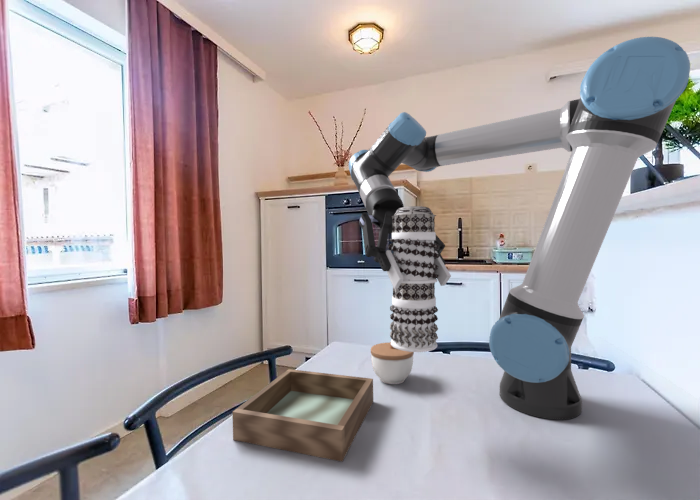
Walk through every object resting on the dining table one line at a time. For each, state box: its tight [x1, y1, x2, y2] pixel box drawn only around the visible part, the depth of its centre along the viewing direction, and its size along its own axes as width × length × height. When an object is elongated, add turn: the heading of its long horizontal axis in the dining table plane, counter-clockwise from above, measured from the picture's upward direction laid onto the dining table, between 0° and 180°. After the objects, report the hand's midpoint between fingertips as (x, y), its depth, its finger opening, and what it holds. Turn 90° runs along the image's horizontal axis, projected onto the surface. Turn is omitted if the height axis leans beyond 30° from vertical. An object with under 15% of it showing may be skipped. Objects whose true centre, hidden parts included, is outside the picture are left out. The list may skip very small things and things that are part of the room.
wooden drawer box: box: [232, 368, 374, 462], centre depth 64 cm, size 20×20×5 cm
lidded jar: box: [370, 341, 415, 385], centre depth 83 cm, size 11×11×9 cm
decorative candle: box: [387, 205, 439, 353], centre depth 60 cm, size 9×9×25 cm
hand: (423, 282), depth 57 cm, fingers closed on decorative candle, 9 cm apart
